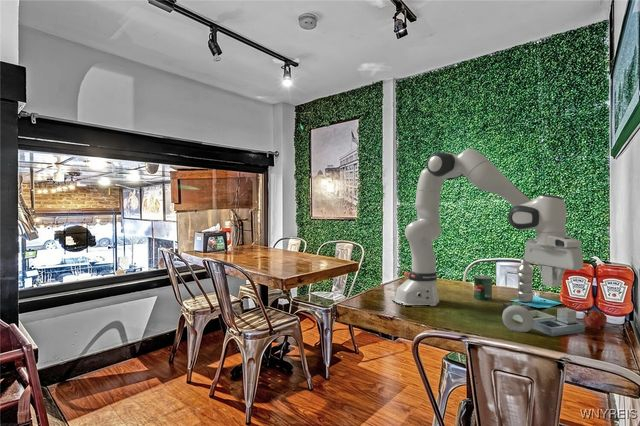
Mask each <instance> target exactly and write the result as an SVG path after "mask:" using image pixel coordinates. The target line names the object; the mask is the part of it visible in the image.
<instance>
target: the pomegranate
mask: <svg viewBox="0 0 640 426" xmlns="http://www.w3.org/2000/svg"><path fill="white" fill-rule="evenodd" d="M582 313H583V314H584V315H583V318H582V320H583V324H585V326H586V327H587V328H589V329H592V330H601V329H602V328H604V329H606V327H605V326H606V325H607V321H608V317H607V315H606V314H605V313H604V312H602V311H600V310H597V309H592V310H589V311H582Z"/></svg>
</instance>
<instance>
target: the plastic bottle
mask: <svg viewBox="0 0 640 426" xmlns="http://www.w3.org/2000/svg"><path fill="white" fill-rule="evenodd" d="M530 264H531V263H529V262H526V261H525V259H524V258H523V259H522V258H521V259H520V265H519V266H518V267H517V269H516V272H517V273H516V275H517V280H518V287H517V291H516V297H517V298H516V299H517V300H518V301H519V302H523V303H531V302H533V301H534V293H533V285H532V283H533V281H532V280H533V275H534V270H533V268H532V266H531V265H530Z"/></svg>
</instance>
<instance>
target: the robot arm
mask: <svg viewBox="0 0 640 426" xmlns="http://www.w3.org/2000/svg"><path fill="white" fill-rule="evenodd" d="M462 177H465V178H466V179H467V180H468V181H469V182H470V183H471V184H472V185H473V186H474V187H475V188H477V189H479V190H480V191H483V192H487V193H491V194H493V195H494V194H495V195H498V196H500V197H501V198H503V199H505V201H506V202H507V203H509V204H510V205H511V206H512V207H511V209H510V210H509V211H508V214H507V220H508V223H509V224H510V226H511V227H512V228H514V229H516V230H521V231H527V230H528V231H529V230H530V231H531V230H536V238H533V237H530V238H528V239H527V240H526V241H525V248H524V256H523V257H524V258H523V259H525V261H526V262H529V263H530V264H536V265H537V269H538V270H539V272H540V277H541V278H542V265H546V266H552V267H557V270H558V271H559V272H558V274H557V275H555V280H559V281H561V282H562V280H563V275H564V274H565V273H566V270H568V271H569V270H571V271H580V270H582V269H583V268H584V254H583V250H582V249H581V247H582V241H581V240H579V239H576V238H574V237H572V236H570V235H567V228H566V222H567V206H566V202H565V199H564V198H563V197H562V196H558V195H550V194H540V195H538V196H537V197H535V198H534V199H531V198H530V197H529V196H527V195H526V194H525V193H524V191H522V190H520V189H519V187H517V186H516V185H515V184H513V182H511V181H510V180H509V179H508V178H507V177H506V176H505V175H504V174H503V173H502V172H501V170H499V169H498V168H497V166H495V164H494V163H493V162H491V160H490V159H488V158H487V157H486V156H485V155H484V154H482V153H481V152H479V151H478V150H476V149H474V148H467V149H464V150H463V151H462V152H460V153H459V154H455V153H451V152H450V153H449V152H443V151H440V152H435V153H433V154H431V155H430V156H429V158H428V159H427V161H426V168H424V169H422V170H421V172H420V174H419V177H418V182H417V187H416V194H415V201H414V202H415V203H414V207H415V210H416V216H417V220H413V221H411V222H410V223H409V224H407V226H406V227H405V229H404V237H405V239H406V240H407V241H408V244H409V248H410V254H411V271H410V272H409V271H404V273H403V275H404V276H407V277H408V278H407V279H405V281H404V282H403V283H402V284H400V285H399V286H398V287H397V288H396V293H395V295H394V296H392V297H391V298H392V300H394V301H395V302H397V303H400V304H401V303H403V305H430V306H429V307H435V306H438V305H437V304H439V303H440V299H439V296H438V291H437V277H438V276H437V269H436V267H437V266H436V265H437V264H436V263H437V259H436V254H435V252H434V249H433V244H432V242H435V240H437V239H438V238H439V237H440V236H441V233H442V226H441V223H440V222H441V221H440V204H441V203H440V202H441V196H442V186H443V183H444V181H445V180H447V181H451V180H454V179H458V178H462ZM392 300H391V301H392Z"/></svg>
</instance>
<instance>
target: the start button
mask: <svg viewBox="0 0 640 426" xmlns="http://www.w3.org/2000/svg"><path fill="white" fill-rule="evenodd" d="M512 302H513V303H512V305H519V306H521V304H522V303H521V302H518V303H516V302H517V301H512ZM520 303H521V304H520Z"/></svg>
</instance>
